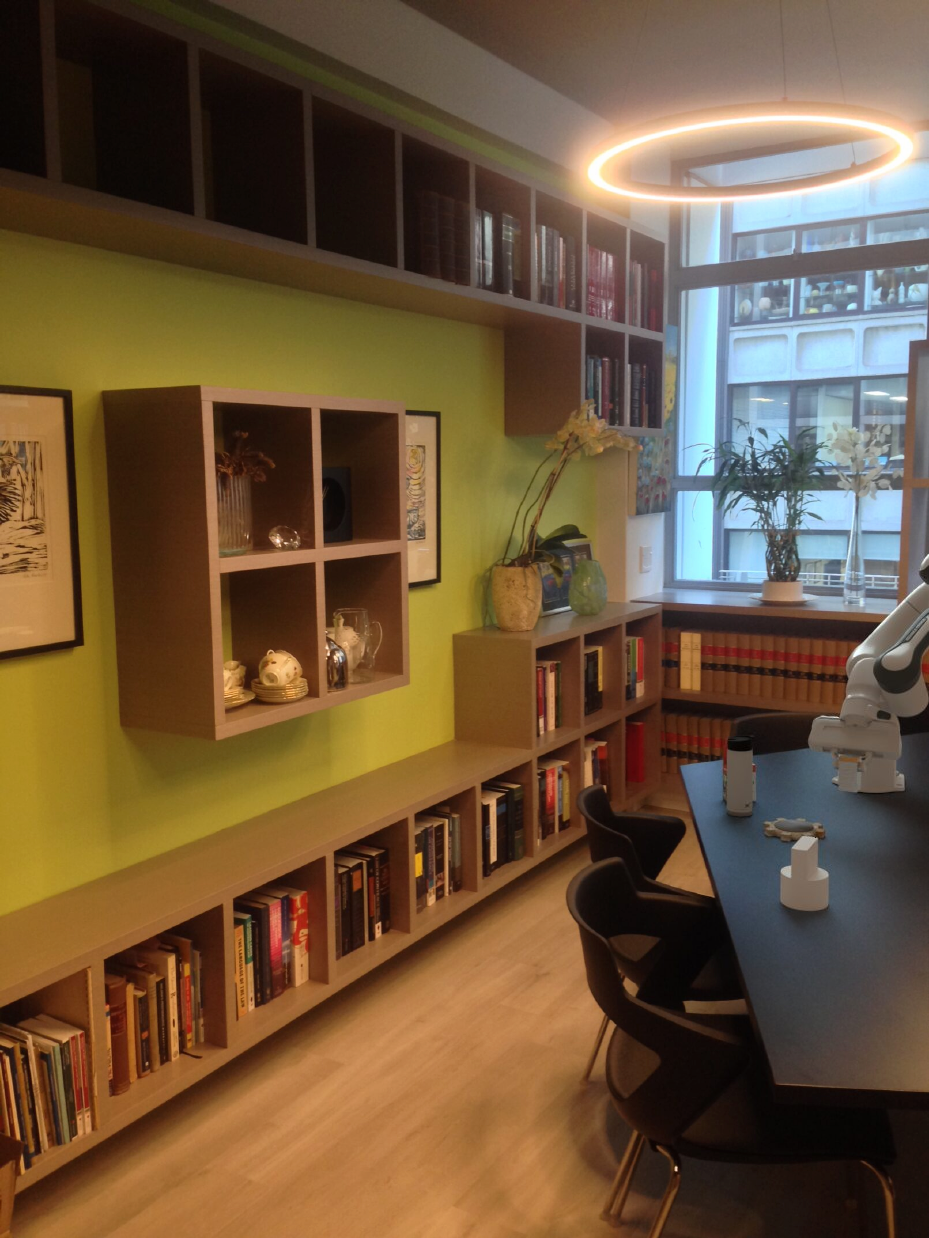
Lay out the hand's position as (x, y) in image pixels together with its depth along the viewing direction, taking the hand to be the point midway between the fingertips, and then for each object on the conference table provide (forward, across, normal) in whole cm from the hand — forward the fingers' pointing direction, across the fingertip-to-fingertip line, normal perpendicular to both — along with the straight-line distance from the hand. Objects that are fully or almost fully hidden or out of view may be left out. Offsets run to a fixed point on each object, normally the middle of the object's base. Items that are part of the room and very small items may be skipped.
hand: (848, 769), depth 240 cm
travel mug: (+4, -29, +20) cm, 36 cm away
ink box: (-3, -33, +28) cm, 43 cm away
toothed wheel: (+11, -13, +14) cm, 22 cm away
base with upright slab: (+41, +1, -16) cm, 44 cm away
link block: (+3, 0, +4) cm, 5 cm away
